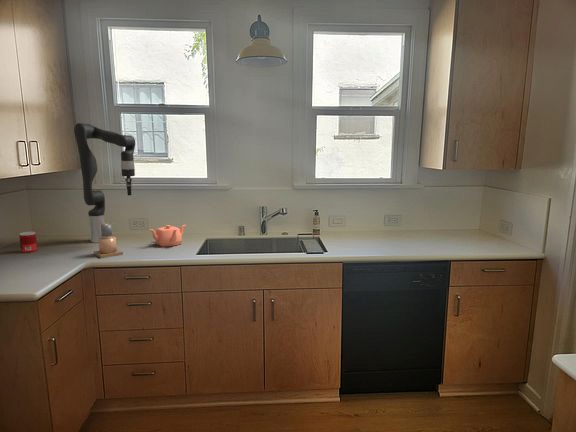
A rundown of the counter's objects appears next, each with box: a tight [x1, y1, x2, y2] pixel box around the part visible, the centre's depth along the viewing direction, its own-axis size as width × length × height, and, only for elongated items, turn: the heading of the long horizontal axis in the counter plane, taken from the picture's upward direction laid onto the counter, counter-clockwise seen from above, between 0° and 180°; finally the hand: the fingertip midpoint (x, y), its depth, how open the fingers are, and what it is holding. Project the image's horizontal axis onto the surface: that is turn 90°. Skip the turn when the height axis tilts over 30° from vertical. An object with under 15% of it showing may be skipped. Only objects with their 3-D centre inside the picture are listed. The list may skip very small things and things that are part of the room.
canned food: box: [18, 231, 38, 254], centre depth 219 cm, size 8×8×11 cm
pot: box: [148, 224, 187, 248], centre depth 240 cm, size 18×17×12 cm
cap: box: [101, 223, 113, 236], centre depth 215 cm, size 7×6×6 cm
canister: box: [93, 235, 124, 259], centre depth 216 cm, size 12×12×12 cm
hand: (129, 194), depth 234 cm, fingers open, 8 cm apart
